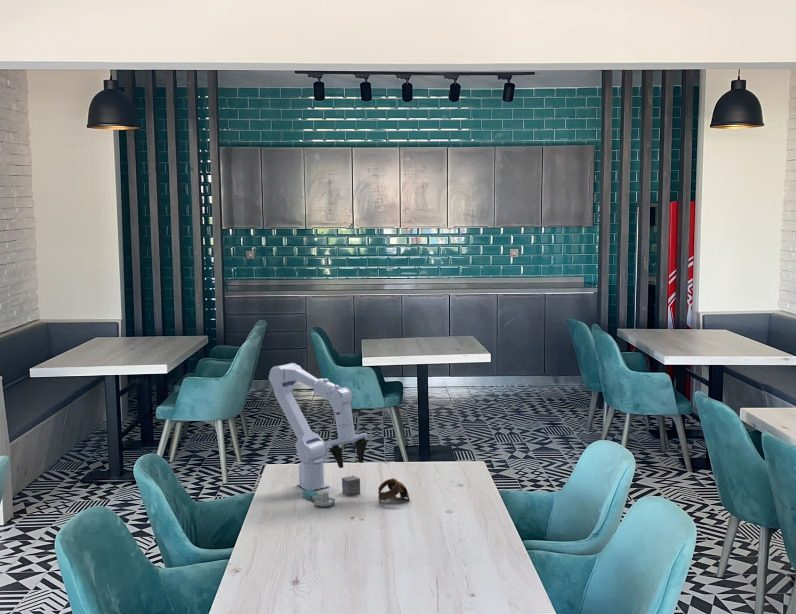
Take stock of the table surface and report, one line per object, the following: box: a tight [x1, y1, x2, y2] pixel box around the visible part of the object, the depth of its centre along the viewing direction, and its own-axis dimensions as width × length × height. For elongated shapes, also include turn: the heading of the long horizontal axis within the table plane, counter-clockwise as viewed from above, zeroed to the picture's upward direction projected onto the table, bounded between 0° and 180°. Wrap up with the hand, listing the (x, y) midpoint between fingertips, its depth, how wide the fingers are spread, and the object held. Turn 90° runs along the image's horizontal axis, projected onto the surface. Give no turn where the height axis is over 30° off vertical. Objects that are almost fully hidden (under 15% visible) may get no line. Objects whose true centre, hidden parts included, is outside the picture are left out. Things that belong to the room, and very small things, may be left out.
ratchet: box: [302, 489, 336, 509], centre depth 273 cm, size 16×6×4 cm, turn 32°
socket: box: [341, 475, 361, 496], centre depth 280 cm, size 4×4×5 cm
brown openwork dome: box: [377, 477, 410, 503], centre depth 271 cm, size 12×10×8 cm
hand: (351, 465), depth 279 cm, fingers open, 7 cm apart
